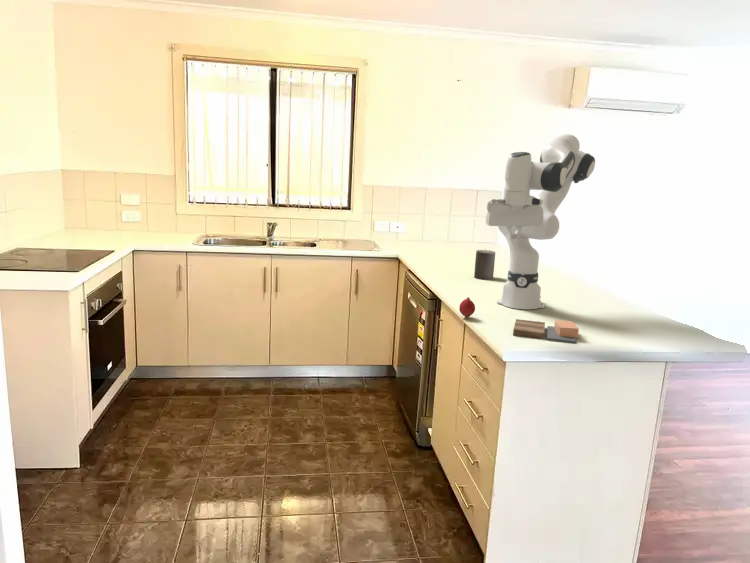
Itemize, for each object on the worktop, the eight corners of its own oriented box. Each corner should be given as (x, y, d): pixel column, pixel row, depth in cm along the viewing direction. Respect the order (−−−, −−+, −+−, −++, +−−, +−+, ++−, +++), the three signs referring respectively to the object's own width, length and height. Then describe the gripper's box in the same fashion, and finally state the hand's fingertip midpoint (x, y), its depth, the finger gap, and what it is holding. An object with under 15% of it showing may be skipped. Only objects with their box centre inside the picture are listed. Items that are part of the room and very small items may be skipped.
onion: (456, 317, 209) (457, 297, 207) (462, 314, 214) (464, 294, 212) (470, 320, 206) (472, 299, 204) (476, 317, 211) (478, 296, 209)
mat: (547, 328, 200) (547, 325, 199) (574, 331, 197) (574, 328, 197) (546, 340, 186) (547, 337, 185) (575, 343, 183) (575, 341, 183)
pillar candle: (472, 278, 283) (475, 249, 280) (475, 275, 292) (477, 246, 289) (492, 280, 281) (495, 251, 277) (494, 277, 290) (496, 248, 286)
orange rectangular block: (554, 328, 196) (554, 320, 196) (571, 329, 196) (572, 321, 195) (559, 336, 188) (560, 327, 187) (577, 337, 187) (578, 328, 186)
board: (515, 324, 203) (516, 319, 202) (544, 327, 200) (544, 322, 199) (512, 335, 190) (513, 329, 189) (543, 338, 187) (544, 333, 186)
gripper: (491, 199, 191) (488, 240, 194) (547, 200, 195) (543, 240, 198) (484, 198, 197) (481, 237, 200) (539, 199, 201) (535, 237, 204)
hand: (512, 238), depth 199 cm, fingers closed
